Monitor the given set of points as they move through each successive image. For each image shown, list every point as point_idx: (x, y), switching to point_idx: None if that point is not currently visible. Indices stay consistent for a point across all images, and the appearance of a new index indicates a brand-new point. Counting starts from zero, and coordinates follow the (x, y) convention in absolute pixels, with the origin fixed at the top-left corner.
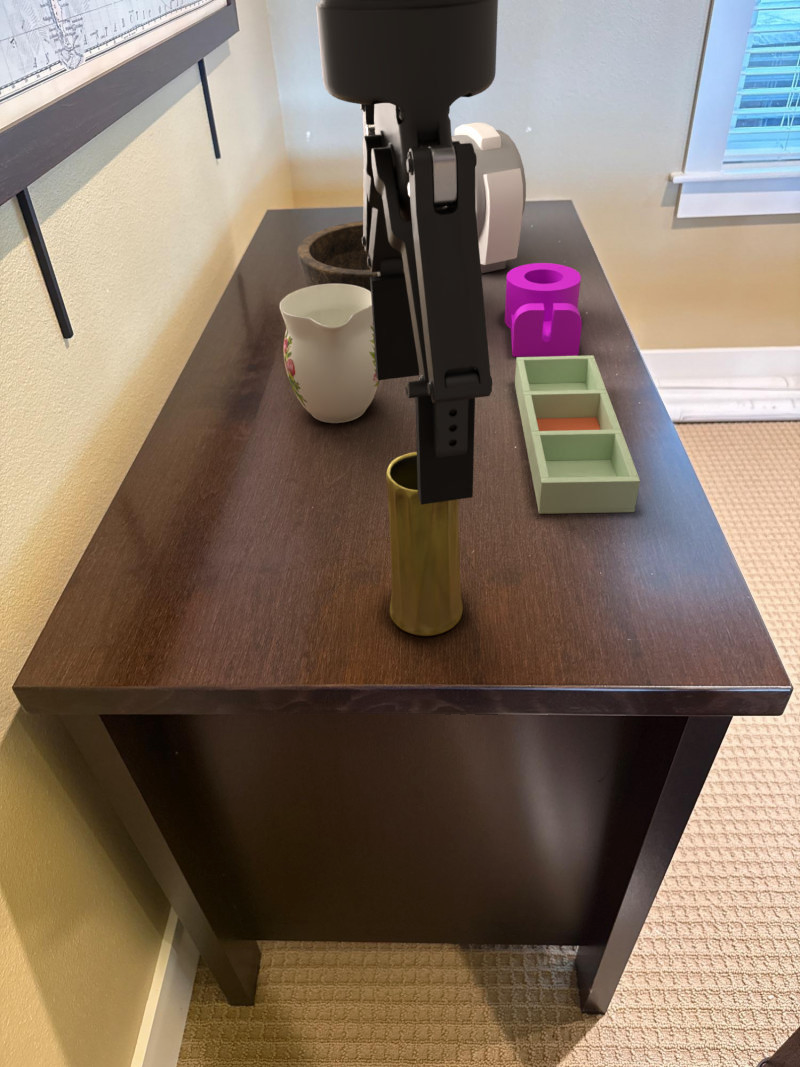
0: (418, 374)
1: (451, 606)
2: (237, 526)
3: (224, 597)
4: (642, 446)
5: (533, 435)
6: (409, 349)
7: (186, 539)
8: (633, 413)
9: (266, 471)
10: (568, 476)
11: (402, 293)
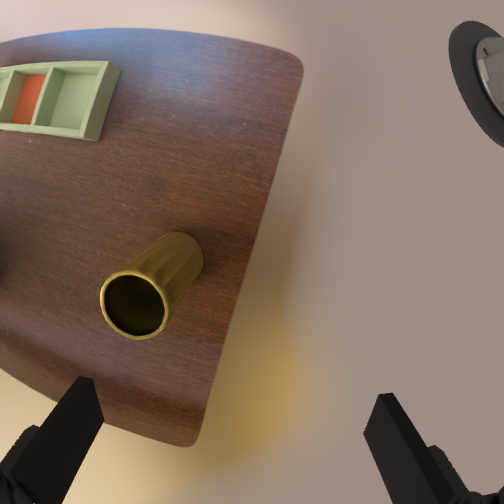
0: (92, 380)
1: (194, 249)
2: (80, 355)
3: (142, 374)
4: (62, 49)
5: (33, 130)
6: (78, 413)
7: None
8: (32, 50)
9: (32, 325)
10: (70, 109)
11: (45, 478)
